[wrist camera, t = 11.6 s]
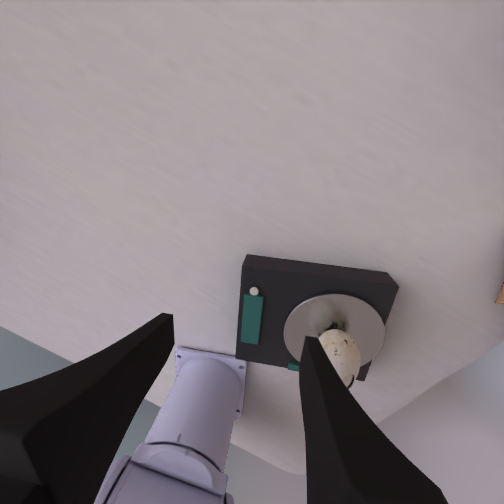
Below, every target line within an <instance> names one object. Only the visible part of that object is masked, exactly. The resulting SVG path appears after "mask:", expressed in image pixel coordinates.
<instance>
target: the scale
mask: <svg viewBox="0 0 504 504" xmlns="http://www.w3.org/2000/svg"><path fill="white" fill-rule="evenodd" d="M398 288H399V286H398V285H397V284H396V282H395V281H394V280H393V279H392V278H391V277H390V276H389V274H388V273H387V272H379V271H371V270H364V269H356V268H348V267H341V266H333V265H325V264H317V263H310V262H302V261H294V260H287V259H279V258H271V257H263V256H256V255H248V254H247V255H246V258H245V260H244V262H243V265H242V274H241V288H240V301H239V315H238V329H237V343H236V356H235V359H239V360H244V361H250V362H256V363H262V364H267V365H273V366H279V367H285V368H288V370H293V371H299V364H300V362H299V361H297V360H296V359H295V358H294V357H293V356H292V355H291V353H290V352H289V350H288V349H287V347H286V344H285V341H284V335H283V329H284V322H285V319H286V316H287V314H288V313H289V311H290V310H291V308H292V307H293V306H294V305H295V304H296V303H297V302H299V301H300V300H302V299H303V298H305V297H307V296H309V295H312V294H314V293H318V292H322V291H344V292H349V293H352V294H355V295H357V296H360V297H362V298H363V299H365V300H367V301H368V302H369V303H370V304H371V305H372V306H373V307H374V308H375V309H376V310H377V312H378V313H379V315H380V317H381V319H382V321H383V323H384V326H385V324H386V321H387V318H388V316H389V313H390V310H391V307H392V305H393V302H394V299H395V297H396V294H397V291H398ZM371 362H372V360H371V361H370V362H368V363H366V364H365V365H363V366H361V367H360V369H359V373H358V375H357V378H356V380H360V381H365V378H366V375H367V372H368V370H369V367H370V364H371Z"/></svg>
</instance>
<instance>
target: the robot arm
mask: <svg viewBox="0 0 504 504" xmlns="http://www.w3.org/2000/svg"><path fill="white" fill-rule="evenodd" d="M174 344H175V343H174V325H173V314H166V313H161V314H160V315H158V316H157V317H155V318H154V319H152V320H151V321H149V322H148V323H146V324H145V325H143V326H142V327H140V328H138V329H137V330H135V331H134V332H132V333H131V334H129V335H128V336H126V337H124V338H123V339H121V340H119V341H117V342H116V343H114V344H112V345H111V346H109V347H107V348H105V349H104V350H102V351H100V352H98V353H96V354H94V355H92V356H90V357H88V358H86V359H84V360H82V361H79V362H77V363H75V364H73V365H70V366H68V367H66V368H63V369H62V370H59V371H56V372H54V373H51V374H49V375H46V376H43V377H41V378H38V379H35V380H32V381H30V382H27V383H24V384H21V385H18V386H14V387H11V388H8V389H5V390H2V391H0V504H234V499H233V497H232V495H231V494H229V493H226V492H225V491H226V485H227V480H228V475H226V474H224V468H225V463H226V458H227V453H228V448H229V443H230V438H231V433H232V428H233V423H234V418H235V419H240V418H241V417H242V408H243V398H244V388H245V378H246V368H247V361H244V360H239V359H235V357H233V356H227V355H222V354H216V353H210V352H204V351H199V350H193V349H187V348H181V347H178V348H177V349H176V350H175V361H176V379H175V381H174V383H173V385H172V387H171V389H170V391H169V393H168V395H167V397H166V399H165V401H164V403H163V405H162V407H161V409H160V411H159V413H158V415H157V417H156V419H155V421H154V423H153V426H152V427H151V429H150V431H149V433H148V435H147V437H146V439H145V441H144V443H142V442H141V443H139V445H138V447H137V449H136V451H135V453H134V455H133V457H131V456H129V455H123V456H122V457H121V458H120V459H118V460H116V461H114V462H113V463H112V461H113V458H114V456H115V454H116V452H117V450H118V448H119V446H120V444H121V442H122V439H123V437H124V435H125V433H126V431H127V429H128V427H129V425H130V423H131V421H132V419H133V417H134V415H135V413H136V411H137V409H138V408H139V406H140V404H141V402H142V400H143V399H144V397H145V396H146V394H147V392H148V391H149V389H150V388H151V386H152V384H153V383H154V381H155V379H156V378H157V376H158V375H159V373H160V371H161V370H162V368H163V366H164V365H165V363H166V361H167V359H168V357H169V355H170V353H171V351H172V348H173V346H174ZM180 355H181V356H180ZM299 386H300V396H301V405H302V413H303V422H304V431H305V442H306V470H307V504H448V502H447V500H446V499H445V497H444V495H443V493H442V491H441V489H440V488H439V487H437V485H435V484H434V483H433V482H432V481H431V480H430V479H429V478H428V477H427V476H426V475H425V474H423V473H422V472H421V471H420V470H419V469H418V468H417V467H416V466H415V465H414V464H413V463H412V462H411V461H409V460H408V459H407V458H406V457H405V456H404V455H403V454H402V452H401V451H400V450H399V449H397V448H396V447H395V445H394V444H393V443H392V442H391V441H390V440H389V439H388V438H387V437H386V436H385V435H384V434H383V433H382V431H381V430H380V429H379V428H378V427H377V426H376V425H375V423H374V422H373V421H372V420H371V419H370V418H369V416H368V415H367V414H366V413H365V411H364V410H363V409H362V408H361V406H360V405H359V404H358V402H357V401H356V400H355V398H354V397H353V396H352V394H351V393H350V391H349V390H348V388H347V387H346V386H345V384H344V383H343V381H342V379H341V378H340V376H339V375H338V373H337V371H336V370H335V368H334V366H333V365H332V363H331V361H330V360H329V358H328V356H327V354H326V352H325V350H324V349H323V347H322V345H321V343H320V341H319V339H318V338H317V337H311V336H305V340H304V345H303V350H302V354H301V359H300V364H299ZM111 463H112V464H111Z"/></svg>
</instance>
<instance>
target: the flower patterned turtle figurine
mask: <svg viewBox="0 0 504 504" xmlns="http://www.w3.org/2000/svg"><path fill="white" fill-rule="evenodd" d="M495 303H500V304H504V283H503V285H502V288H501V291H500V294H499V296H498V298H497V300H496V301H495Z"/></svg>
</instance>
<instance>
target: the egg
mask: <svg viewBox="0 0 504 504" xmlns="http://www.w3.org/2000/svg"><path fill="white" fill-rule="evenodd" d="M319 341H320V343H321V345H322V347H323V349H324V350H325V352H326V354H327V356H328V358H329V360H330V361H331V363H332V365H333V366H334V368H335V370H336V371H337V373H338V375H339V376H340V378H341V379H342V381H343V383H344V384H345V386H346V387H347V388H348V390H349V389H350V388H351V387H352V385H353V384H354V382H355V380H356V378H357V375H358V373H359V369H360V362H361V356H360V351H359V347H358V345H357V343H356V342H355V340H354V339H353V338H352V337H351V336H350V335H349V334H348V333H346V332H344V331H342V330H338V329H332V330H328V331H326V332H324V333H323V334H322V335H321V336H320V337H319Z"/></svg>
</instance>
